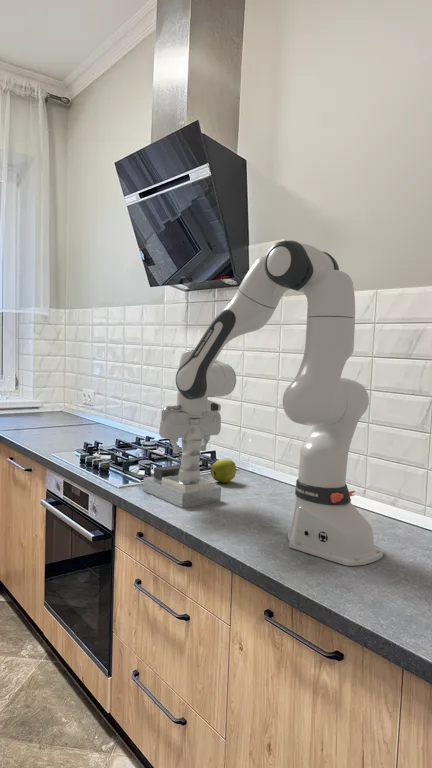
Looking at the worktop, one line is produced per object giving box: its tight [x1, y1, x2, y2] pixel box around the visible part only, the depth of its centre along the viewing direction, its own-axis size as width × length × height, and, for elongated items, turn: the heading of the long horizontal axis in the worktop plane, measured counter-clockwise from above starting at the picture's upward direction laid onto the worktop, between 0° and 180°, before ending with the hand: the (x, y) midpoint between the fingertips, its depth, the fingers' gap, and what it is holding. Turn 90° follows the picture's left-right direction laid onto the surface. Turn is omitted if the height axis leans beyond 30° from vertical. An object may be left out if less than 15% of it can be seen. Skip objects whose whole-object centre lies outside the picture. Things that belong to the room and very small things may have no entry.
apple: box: [209, 458, 238, 484], centre depth 178 cm, size 8×9×8 cm
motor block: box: [142, 464, 222, 509], centre depth 160 cm, size 23×14×7 cm, turn 40°
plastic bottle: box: [178, 418, 203, 485], centre depth 155 cm, size 6×7×20 cm
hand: (189, 451), depth 156 cm, fingers open, 8 cm apart
